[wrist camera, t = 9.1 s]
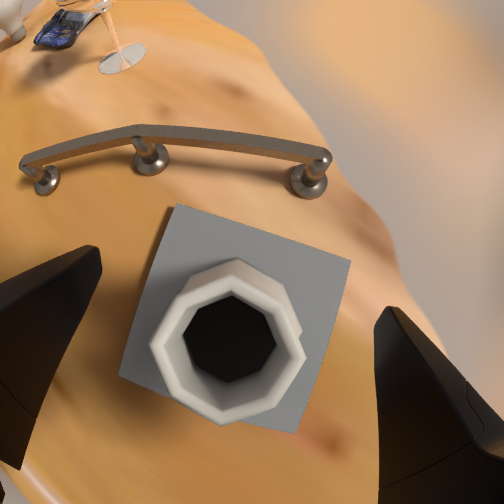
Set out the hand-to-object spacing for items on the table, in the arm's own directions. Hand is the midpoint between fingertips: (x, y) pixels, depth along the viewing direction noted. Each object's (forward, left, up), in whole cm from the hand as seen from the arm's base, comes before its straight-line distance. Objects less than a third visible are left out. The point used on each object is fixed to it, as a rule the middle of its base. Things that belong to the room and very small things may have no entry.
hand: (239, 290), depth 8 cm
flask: (-1, 0, -8) cm, 8 cm away
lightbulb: (+16, +49, -9) cm, 52 cm away
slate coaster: (-1, 0, -9) cm, 9 cm away
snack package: (+19, +35, -9) cm, 41 cm away
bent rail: (+5, +9, -9) cm, 13 cm away
